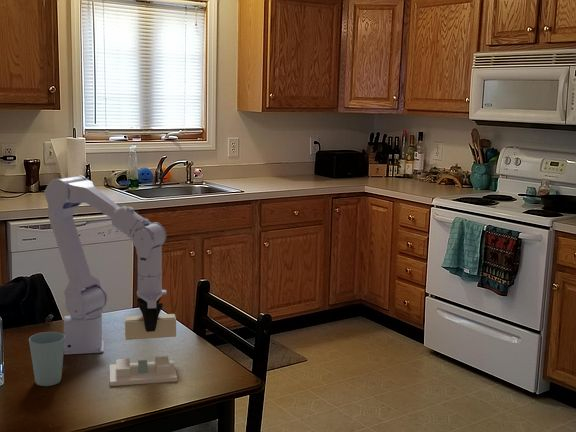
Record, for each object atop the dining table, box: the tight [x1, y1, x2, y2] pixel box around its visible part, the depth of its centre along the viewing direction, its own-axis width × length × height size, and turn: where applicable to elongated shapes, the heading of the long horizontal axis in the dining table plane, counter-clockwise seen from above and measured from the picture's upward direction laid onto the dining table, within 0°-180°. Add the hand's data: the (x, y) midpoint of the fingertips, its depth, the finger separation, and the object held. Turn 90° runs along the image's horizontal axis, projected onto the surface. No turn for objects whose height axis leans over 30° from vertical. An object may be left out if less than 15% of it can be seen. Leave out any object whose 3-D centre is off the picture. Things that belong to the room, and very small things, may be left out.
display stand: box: [109, 355, 178, 387], centre depth 161 cm, size 15×10×3 cm, turn 104°
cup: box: [28, 331, 65, 387], centre depth 155 cm, size 8×8×10 cm
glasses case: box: [124, 313, 177, 341], centre depth 168 cm, size 12×4×5 cm, turn 105°
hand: (149, 327), depth 168 cm, fingers closed on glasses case, 4 cm apart
